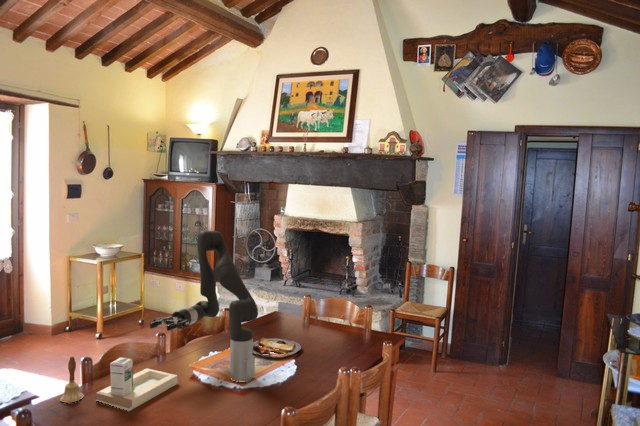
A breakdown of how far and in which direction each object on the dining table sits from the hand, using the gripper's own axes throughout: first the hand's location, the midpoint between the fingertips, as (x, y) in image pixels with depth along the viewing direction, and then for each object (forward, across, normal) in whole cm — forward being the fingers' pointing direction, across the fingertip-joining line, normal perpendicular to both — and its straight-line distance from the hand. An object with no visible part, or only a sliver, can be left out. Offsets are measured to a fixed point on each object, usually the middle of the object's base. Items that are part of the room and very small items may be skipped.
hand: (158, 327), depth 202 cm
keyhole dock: (+10, -1, +23) cm, 25 cm away
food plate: (-53, +24, +23) cm, 63 cm away
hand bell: (+25, -20, +23) cm, 39 cm away
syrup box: (+19, -2, +22) cm, 29 cm away
